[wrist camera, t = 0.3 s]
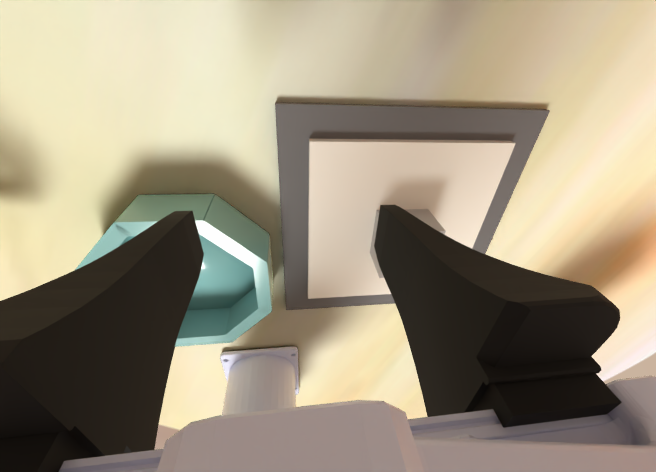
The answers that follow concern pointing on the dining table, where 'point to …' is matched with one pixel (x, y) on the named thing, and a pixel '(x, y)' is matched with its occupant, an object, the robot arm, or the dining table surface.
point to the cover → (391, 201)
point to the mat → (384, 123)
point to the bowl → (208, 263)
